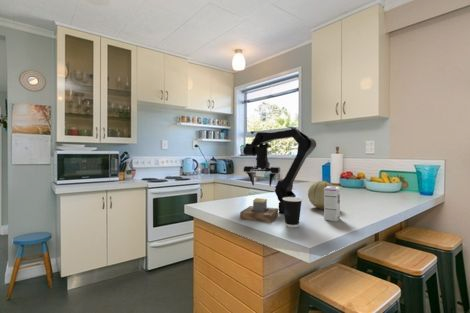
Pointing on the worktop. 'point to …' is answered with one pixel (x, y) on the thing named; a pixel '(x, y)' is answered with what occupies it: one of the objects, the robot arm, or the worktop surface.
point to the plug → (260, 205)
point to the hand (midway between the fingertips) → (261, 185)
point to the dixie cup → (292, 211)
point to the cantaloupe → (318, 193)
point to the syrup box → (332, 203)
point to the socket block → (259, 214)
